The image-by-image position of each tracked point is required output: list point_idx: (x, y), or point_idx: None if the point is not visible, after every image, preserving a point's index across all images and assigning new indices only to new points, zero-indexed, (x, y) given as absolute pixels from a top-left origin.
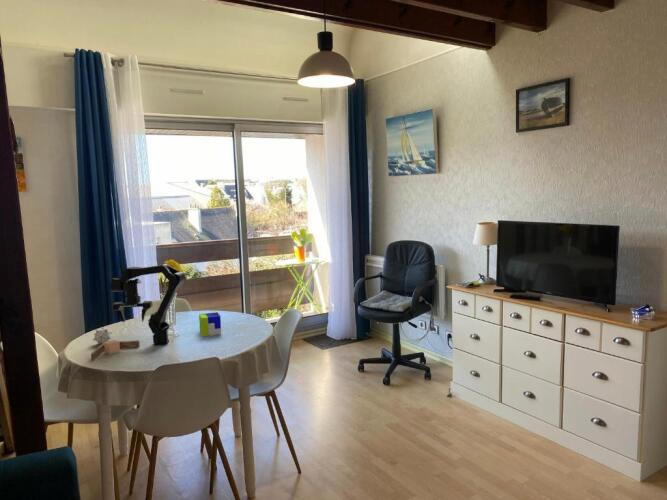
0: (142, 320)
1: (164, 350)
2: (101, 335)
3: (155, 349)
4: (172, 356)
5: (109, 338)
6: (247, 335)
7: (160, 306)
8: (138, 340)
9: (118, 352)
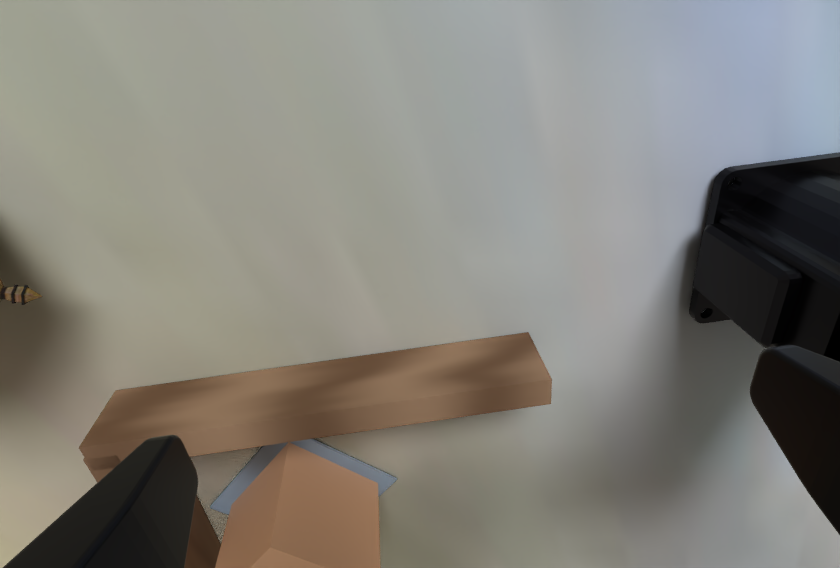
0: (783, 433)
1: None
2: None
3: (707, 422)
4: (830, 544)
5: (21, 300)
6: None
7: None
8: (541, 383)
9: None
